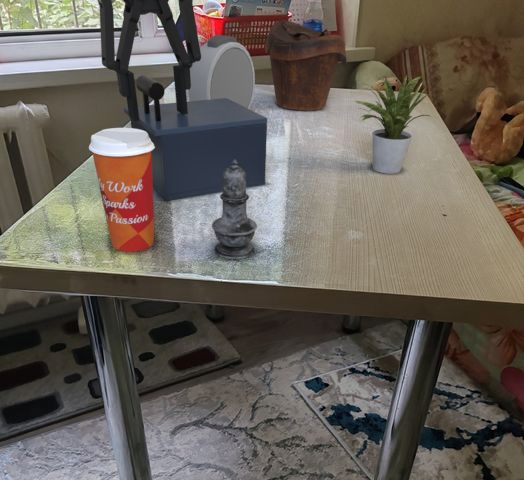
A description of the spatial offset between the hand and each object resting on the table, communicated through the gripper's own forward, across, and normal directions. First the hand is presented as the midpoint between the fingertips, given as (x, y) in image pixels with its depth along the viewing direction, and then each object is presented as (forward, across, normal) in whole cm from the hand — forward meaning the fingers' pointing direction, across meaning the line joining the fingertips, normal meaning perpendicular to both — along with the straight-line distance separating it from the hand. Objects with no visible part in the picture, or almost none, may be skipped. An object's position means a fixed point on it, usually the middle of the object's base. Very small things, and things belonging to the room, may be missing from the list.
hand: (158, 115), depth 85 cm
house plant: (+12, +41, -8) cm, 43 cm away
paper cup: (+11, -12, -19) cm, 25 cm away
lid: (+1, +6, 0) cm, 6 cm away
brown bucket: (+13, +52, +39) cm, 66 cm away
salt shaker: (+11, -1, -27) cm, 29 cm away
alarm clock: (+12, +22, +23) cm, 34 cm away
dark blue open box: (+11, +6, 0) cm, 13 cm away
